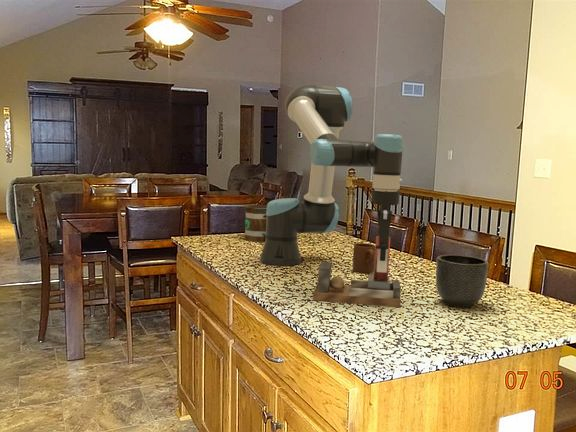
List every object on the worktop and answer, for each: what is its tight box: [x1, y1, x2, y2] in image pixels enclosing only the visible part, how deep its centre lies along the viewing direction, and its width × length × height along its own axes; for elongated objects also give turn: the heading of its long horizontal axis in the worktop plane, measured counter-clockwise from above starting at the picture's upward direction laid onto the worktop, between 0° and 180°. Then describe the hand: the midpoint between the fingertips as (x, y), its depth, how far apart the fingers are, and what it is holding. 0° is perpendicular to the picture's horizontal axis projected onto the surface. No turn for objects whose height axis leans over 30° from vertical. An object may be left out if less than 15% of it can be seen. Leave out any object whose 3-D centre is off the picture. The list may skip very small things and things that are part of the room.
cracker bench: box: [312, 261, 402, 308], centre depth 155 cm, size 24×12×9 cm, turn 81°
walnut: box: [330, 275, 345, 289], centre depth 156 cm, size 4×4×4 cm
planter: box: [435, 254, 489, 309], centre depth 152 cm, size 14×14×13 cm
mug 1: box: [244, 204, 267, 243], centre depth 242 cm, size 20×14×15 cm
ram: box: [367, 235, 391, 291], centre depth 153 cm, size 6×8×16 cm
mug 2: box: [352, 242, 376, 275], centre depth 187 cm, size 12×8×9 cm, turn 13°
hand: (381, 267), depth 153 cm, fingers open, 10 cm apart
